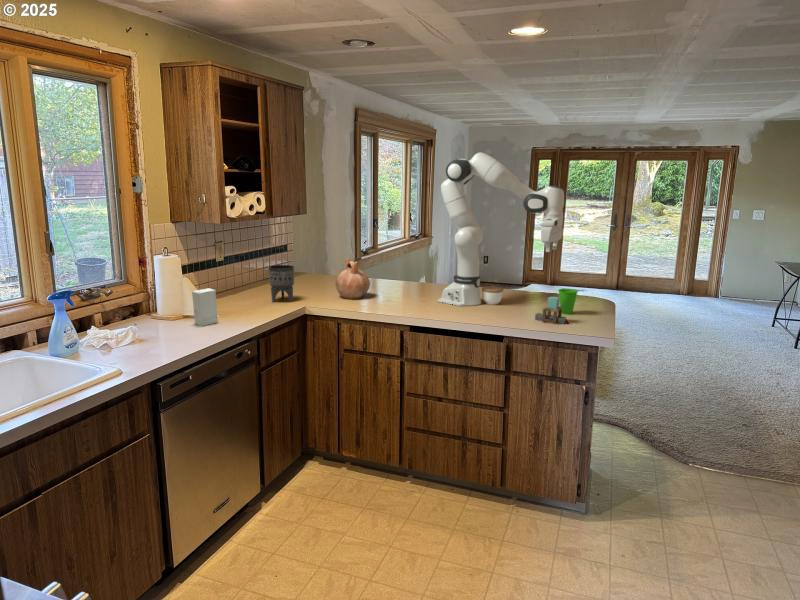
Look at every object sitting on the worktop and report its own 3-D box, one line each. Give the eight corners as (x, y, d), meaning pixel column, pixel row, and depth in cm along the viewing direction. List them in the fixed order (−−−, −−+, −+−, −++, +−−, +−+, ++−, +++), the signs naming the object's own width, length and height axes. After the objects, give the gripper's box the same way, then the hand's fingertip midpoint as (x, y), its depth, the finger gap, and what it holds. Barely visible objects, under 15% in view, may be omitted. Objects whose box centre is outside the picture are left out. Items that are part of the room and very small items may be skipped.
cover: (542, 322, 251) (543, 308, 250) (548, 318, 258) (548, 305, 257) (555, 324, 248) (556, 310, 247) (561, 320, 255) (562, 306, 253)
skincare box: (211, 320, 250) (209, 287, 247) (218, 323, 246) (216, 289, 243) (193, 324, 244) (191, 290, 241) (200, 326, 240) (198, 292, 237)
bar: (534, 320, 255) (535, 314, 255) (537, 319, 258) (538, 312, 257) (563, 325, 248) (563, 318, 247) (565, 323, 250) (565, 317, 249)
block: (547, 308, 251) (547, 298, 250) (550, 306, 254) (550, 296, 253) (556, 309, 249) (556, 299, 248) (558, 307, 252) (559, 297, 251)
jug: (374, 299, 296) (374, 261, 292) (341, 301, 290) (340, 263, 285) (363, 292, 313) (363, 256, 309) (332, 294, 306) (331, 258, 302)
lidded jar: (497, 306, 281) (498, 288, 279) (477, 304, 286) (478, 285, 284) (505, 302, 290) (506, 284, 288) (486, 300, 295) (487, 282, 293)
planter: (277, 304, 282) (275, 269, 278) (265, 300, 292) (263, 266, 288) (300, 301, 290) (299, 267, 286) (287, 297, 300) (286, 264, 296)
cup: (561, 310, 274) (562, 287, 272) (579, 313, 269) (581, 290, 266) (553, 313, 268) (554, 290, 265) (571, 316, 262) (573, 293, 260)
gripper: (553, 219, 273) (551, 248, 276) (539, 222, 256) (537, 252, 259) (566, 220, 270) (564, 249, 273) (552, 222, 253) (550, 253, 256)
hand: (551, 250), depth 266 cm, fingers open, 8 cm apart
